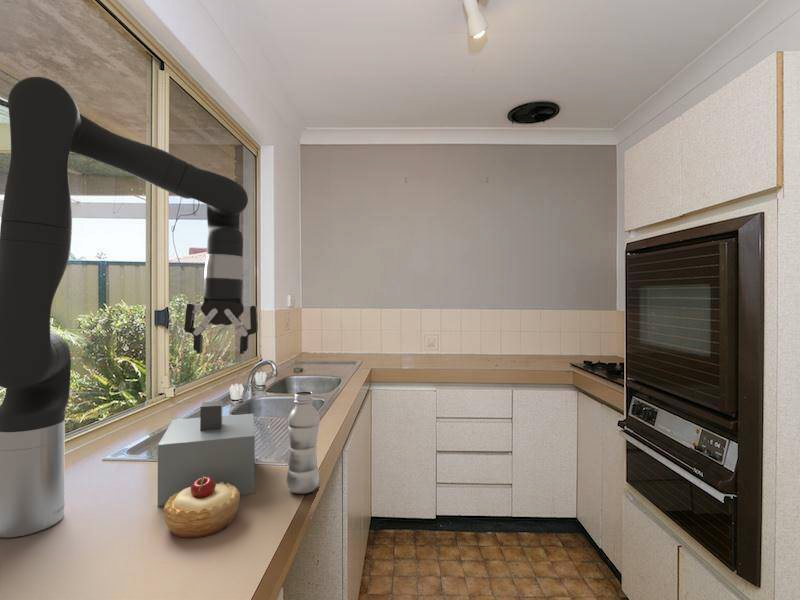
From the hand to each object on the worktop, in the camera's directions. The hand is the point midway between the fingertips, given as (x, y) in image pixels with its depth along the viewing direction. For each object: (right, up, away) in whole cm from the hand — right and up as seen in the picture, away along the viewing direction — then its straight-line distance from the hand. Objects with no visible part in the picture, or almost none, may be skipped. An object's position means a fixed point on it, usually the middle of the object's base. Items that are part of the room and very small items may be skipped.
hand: (221, 353), depth 90 cm
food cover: (-2, -27, +1) cm, 28 cm away
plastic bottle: (+18, -28, -3) cm, 33 cm away
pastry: (+4, -28, -16) cm, 32 cm away
